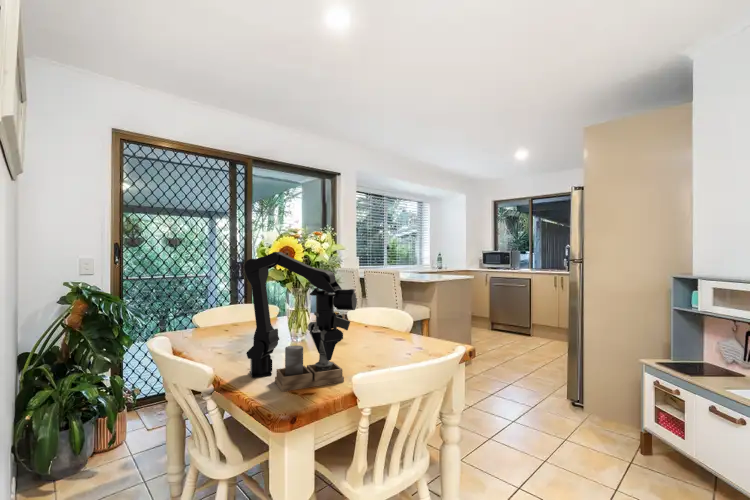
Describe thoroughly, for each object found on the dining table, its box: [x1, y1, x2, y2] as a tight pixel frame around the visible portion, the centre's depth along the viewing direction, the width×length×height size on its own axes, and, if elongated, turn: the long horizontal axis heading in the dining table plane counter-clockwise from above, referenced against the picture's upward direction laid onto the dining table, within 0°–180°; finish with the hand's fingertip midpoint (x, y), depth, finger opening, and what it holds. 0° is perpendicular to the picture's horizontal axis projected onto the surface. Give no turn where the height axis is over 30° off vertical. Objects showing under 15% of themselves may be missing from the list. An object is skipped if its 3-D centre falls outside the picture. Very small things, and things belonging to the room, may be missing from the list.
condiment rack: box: [274, 345, 345, 393], centre depth 122 cm, size 20×10×12 cm, turn 116°
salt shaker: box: [314, 342, 333, 372], centre depth 124 cm, size 6×6×12 cm
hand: (324, 356), depth 124 cm, fingers open, 9 cm apart
